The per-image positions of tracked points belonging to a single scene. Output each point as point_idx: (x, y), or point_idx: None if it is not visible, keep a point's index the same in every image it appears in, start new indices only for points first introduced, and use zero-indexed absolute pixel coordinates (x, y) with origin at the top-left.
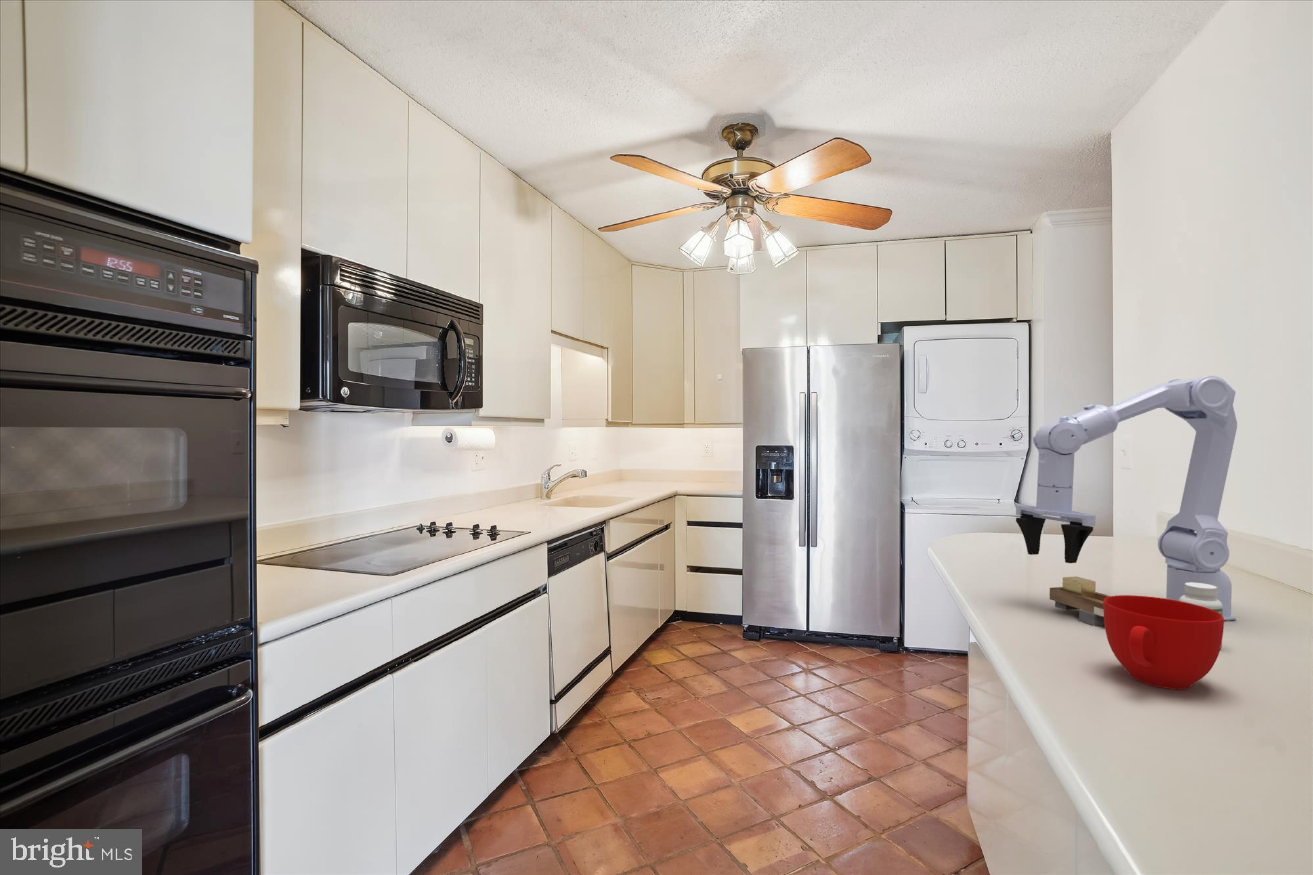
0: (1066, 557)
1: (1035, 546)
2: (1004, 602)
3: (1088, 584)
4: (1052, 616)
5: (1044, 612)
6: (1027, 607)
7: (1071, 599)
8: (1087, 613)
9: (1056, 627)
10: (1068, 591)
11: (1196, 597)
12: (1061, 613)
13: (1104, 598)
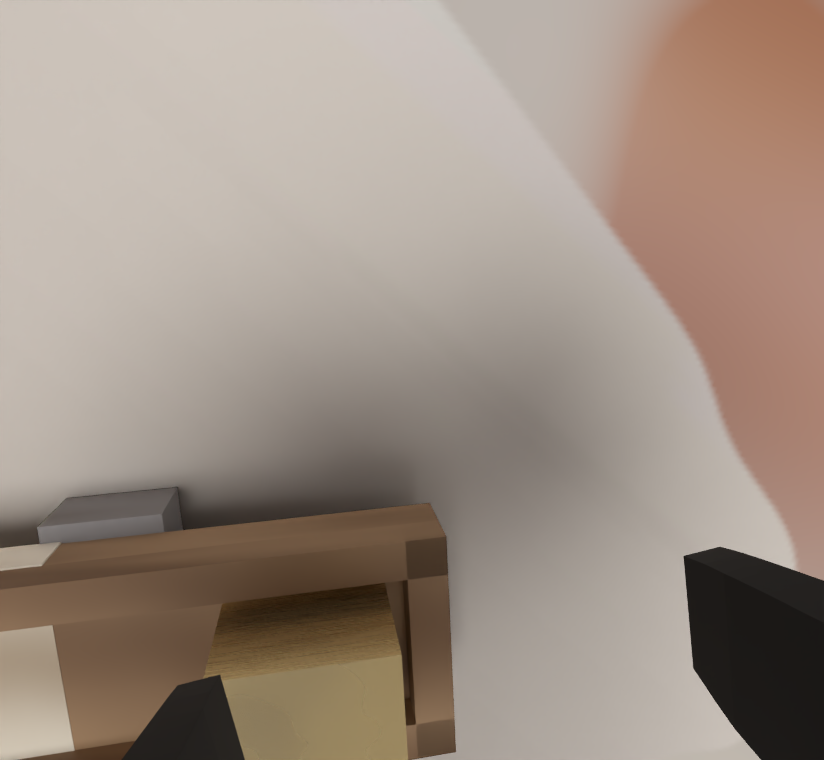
0: (172, 717)
1: (762, 693)
2: (606, 315)
3: None
4: (284, 393)
5: (370, 407)
6: (484, 381)
7: (244, 542)
8: (96, 517)
9: (49, 233)
10: (334, 603)
11: None
12: (337, 496)
13: None
